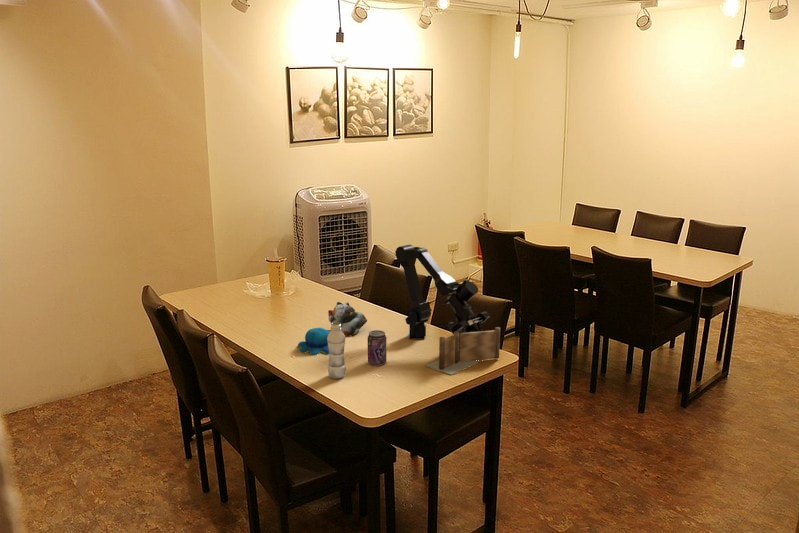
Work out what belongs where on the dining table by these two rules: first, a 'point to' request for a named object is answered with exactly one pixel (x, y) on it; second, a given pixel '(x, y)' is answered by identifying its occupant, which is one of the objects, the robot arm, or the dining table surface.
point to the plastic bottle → (336, 351)
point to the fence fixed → (448, 350)
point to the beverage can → (377, 347)
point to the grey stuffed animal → (347, 318)
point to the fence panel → (479, 345)
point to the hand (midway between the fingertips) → (482, 341)
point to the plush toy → (315, 341)
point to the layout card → (453, 366)
